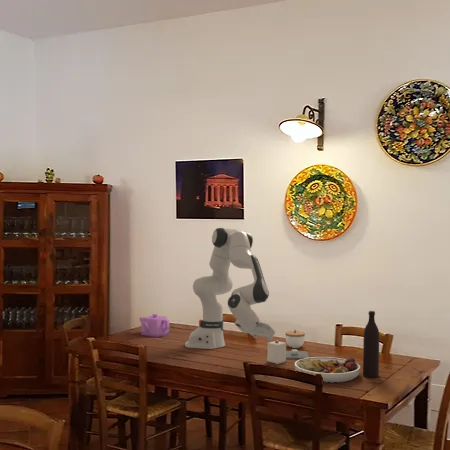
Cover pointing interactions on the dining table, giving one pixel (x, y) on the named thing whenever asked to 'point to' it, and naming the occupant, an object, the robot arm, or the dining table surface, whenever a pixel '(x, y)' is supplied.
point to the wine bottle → (371, 348)
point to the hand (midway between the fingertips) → (263, 338)
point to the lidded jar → (295, 338)
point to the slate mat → (300, 355)
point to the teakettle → (154, 326)
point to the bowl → (330, 368)
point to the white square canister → (276, 352)
